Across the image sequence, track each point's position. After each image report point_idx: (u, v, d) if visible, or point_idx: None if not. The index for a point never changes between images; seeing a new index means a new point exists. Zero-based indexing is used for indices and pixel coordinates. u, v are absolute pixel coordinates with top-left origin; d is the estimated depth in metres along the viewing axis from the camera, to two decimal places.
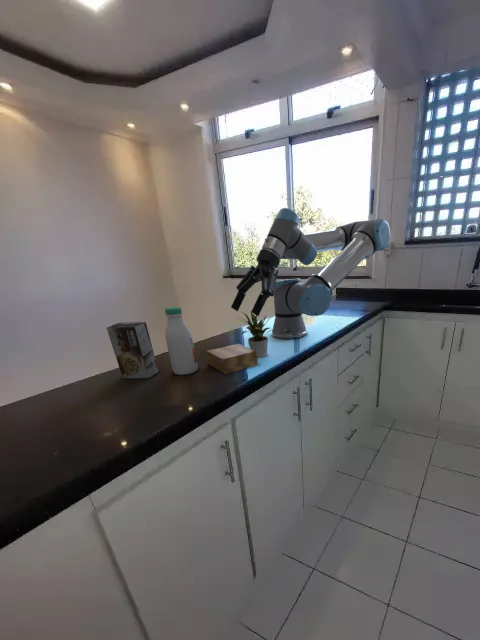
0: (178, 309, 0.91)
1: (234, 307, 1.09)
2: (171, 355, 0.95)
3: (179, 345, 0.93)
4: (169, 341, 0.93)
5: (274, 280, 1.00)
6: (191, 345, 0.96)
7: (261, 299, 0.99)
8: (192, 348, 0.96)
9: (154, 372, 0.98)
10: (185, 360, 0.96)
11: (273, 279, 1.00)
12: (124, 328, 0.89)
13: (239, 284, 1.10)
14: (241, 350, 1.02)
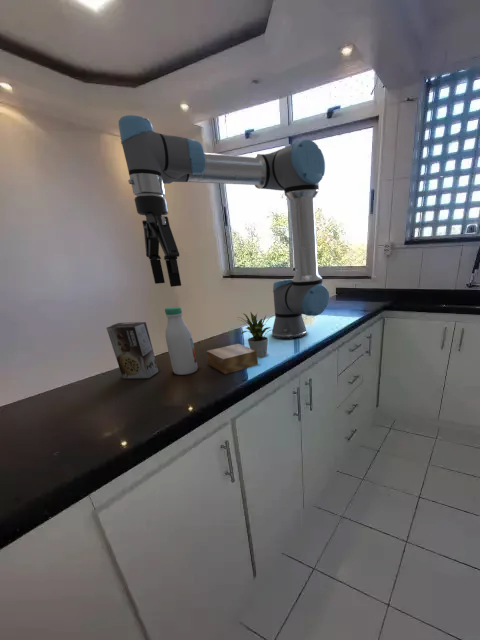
0: (178, 309, 0.91)
1: (158, 281, 0.93)
2: (171, 355, 0.95)
3: (179, 345, 0.93)
4: (169, 341, 0.93)
5: (169, 233, 0.78)
6: (191, 345, 0.96)
7: (171, 266, 0.81)
8: (192, 348, 0.96)
9: (154, 372, 0.98)
10: (185, 360, 0.96)
11: (168, 232, 0.78)
12: (124, 328, 0.89)
13: (146, 250, 0.90)
14: (241, 350, 1.02)
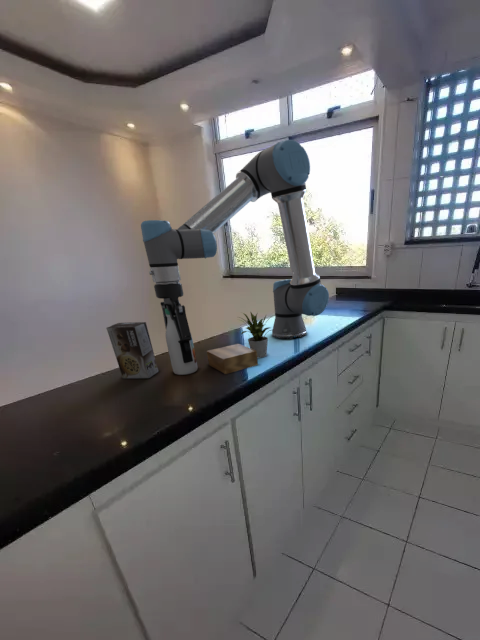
0: None
1: None
2: (171, 355, 0.95)
3: (179, 345, 0.93)
4: (169, 341, 0.93)
5: (185, 321, 0.89)
6: (191, 345, 0.96)
7: (184, 347, 0.92)
8: (192, 348, 0.96)
9: (154, 372, 0.98)
10: None
11: (183, 320, 0.88)
12: (124, 328, 0.89)
13: (166, 327, 0.99)
14: (241, 350, 1.02)
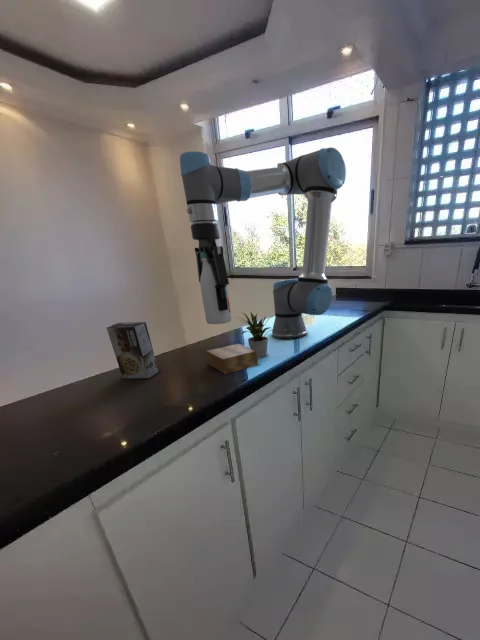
0: None
1: None
2: (206, 303, 0.92)
3: (214, 291, 0.90)
4: (204, 287, 0.89)
5: (222, 263, 0.85)
6: (226, 293, 0.92)
7: (220, 293, 0.89)
8: (227, 296, 0.93)
9: (154, 372, 0.98)
10: None
11: (221, 262, 0.85)
12: (124, 328, 0.89)
13: (199, 276, 0.95)
14: (241, 350, 1.02)
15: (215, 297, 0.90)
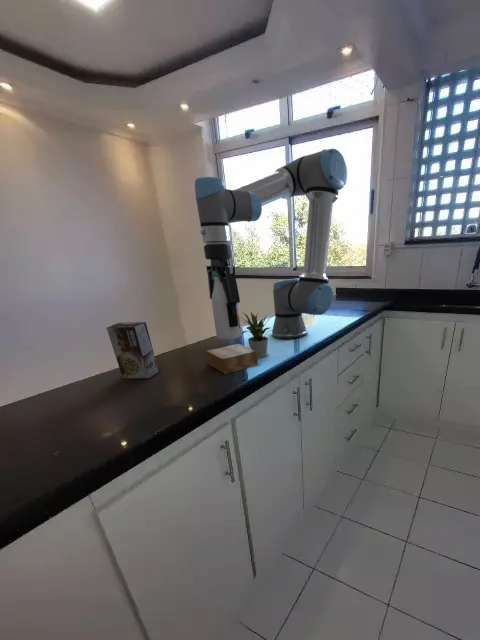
0: None
1: None
2: (217, 319, 0.94)
3: (226, 308, 0.92)
4: (215, 304, 0.92)
5: (234, 282, 0.88)
6: (237, 309, 0.95)
7: (231, 310, 0.92)
8: (237, 313, 0.96)
9: (154, 372, 0.98)
10: None
11: (233, 281, 0.88)
12: (124, 328, 0.89)
13: (210, 293, 0.98)
14: (241, 350, 1.02)
15: (226, 314, 0.93)
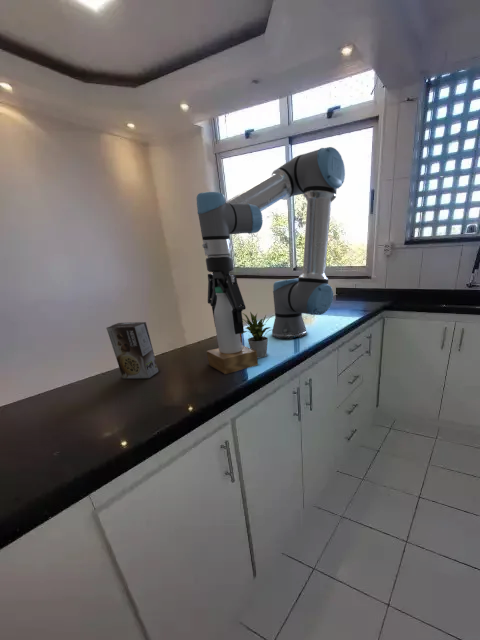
0: None
1: None
2: (219, 334, 0.96)
3: (228, 323, 0.94)
4: (218, 320, 0.94)
5: (237, 290, 0.88)
6: None
7: (237, 317, 0.91)
8: None
9: (154, 372, 0.98)
10: (233, 339, 0.97)
11: (236, 289, 0.88)
12: (124, 328, 0.89)
13: (208, 298, 1.00)
14: None
15: (228, 329, 0.95)
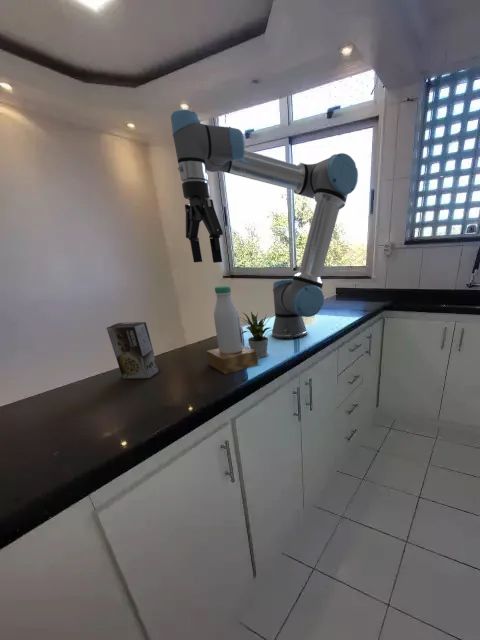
0: (228, 288, 0.92)
1: (197, 260, 1.03)
2: (219, 334, 0.96)
3: (228, 323, 0.94)
4: (218, 320, 0.94)
5: (214, 214, 0.89)
6: (238, 324, 0.97)
7: (214, 244, 0.92)
8: (239, 327, 0.98)
9: (154, 372, 0.98)
10: (233, 339, 0.97)
11: (213, 213, 0.89)
12: (124, 328, 0.89)
13: (186, 232, 1.01)
14: None
15: (228, 329, 0.95)
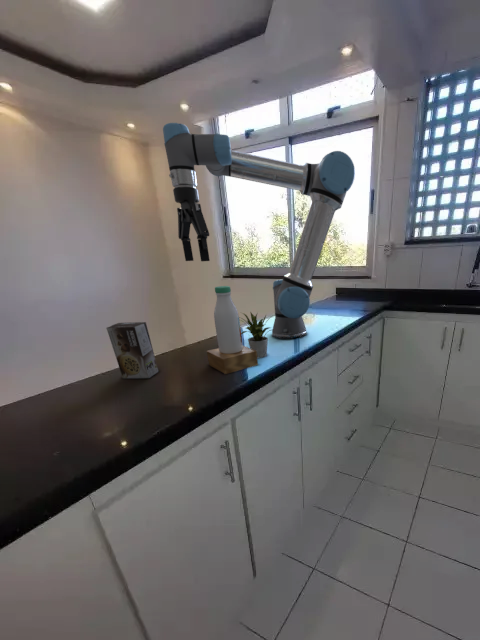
0: (228, 288, 0.92)
1: (188, 259, 1.12)
2: (219, 334, 0.96)
3: (228, 323, 0.94)
4: (218, 320, 0.94)
5: (201, 217, 0.97)
6: (238, 324, 0.97)
7: (202, 244, 1.00)
8: (239, 327, 0.98)
9: (154, 372, 0.98)
10: (233, 339, 0.97)
11: (200, 216, 0.97)
12: (124, 328, 0.89)
13: (179, 233, 1.09)
14: None
15: (228, 329, 0.95)
